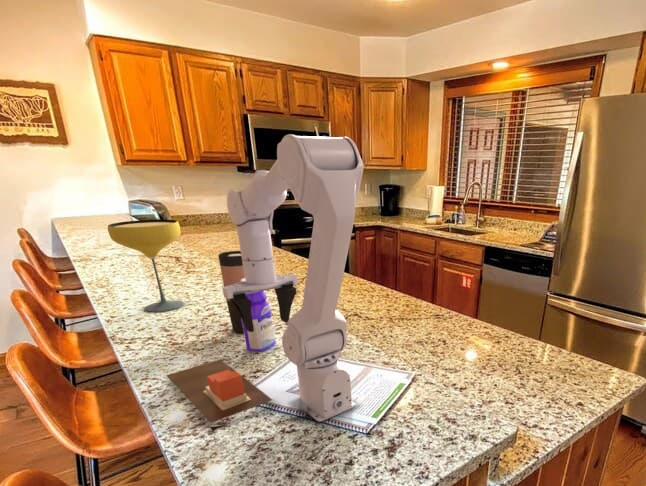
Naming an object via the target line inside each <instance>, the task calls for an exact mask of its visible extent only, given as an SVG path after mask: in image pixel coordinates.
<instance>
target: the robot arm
mask: <svg viewBox="0 0 646 486" xmlns="http://www.w3.org/2000/svg"><path fill="white" fill-rule="evenodd" d="M276 157H277V159H276V161H275V162H274V163H273V165H272V167H270V169H269V170H266V169H257V170H255V172H254V176H253V177H252V178H251V179H250V180H249V181H248V182H247V183H245V185H244V187H243V188H242V189H241V190H236V189H230V190H229V191H228V193H227V196H226V208H227V211H228V215H229V217H230V220H231V221H232V223H233V225H235V226H236V231H237V232H236V233H237V238H238V243H239V249H240V250H239V251H241V256H242V262H243V268H244V274H245V281H243V282H240V283H236V284H233V285H230V286H225V287H224V286H222V288H221V289H222V294H223V297H224V298H225V299H226V298H227V299H229V300H230V302H231V303H232V304H233V306H234V307H235V308H236V310H237V311H238V313H239V315H240V316H241V318H242V320H243V323H244V325H245V328H246V330H247V331H249V332H253V331H254V326H253V321H252V315H251V300H249V299H247V296H245V295H246V294H251V293H256V292H261V291H263V292H265V291H269V290H274V293H275V295H276V300H277V303H278V310H279V317H280V321H281V322H283V323H285V324H286V325H287V326H286V329H284V331H283V334H282V337H281V344H282V349H283V352H284V354H285V356H286V358H287V359H288V361H289V362H291V363H292V364H294V365H295V366H296V369H297V370H296V371H297V379H298V388H299V396H300V401H301V403H302V404H304V405H306V414H307V415H308V416H310V417H311V418H312V419H314V420H315V421H316V422H319V423H320V422H323V421H326V420H329V419H331V418H332V417H335V416H337V415H339V414H342V413H344V412H346V411H348V410H351V409H352V408H355V407H356V406H357V404H356V402H354V401H353V400H352V386H351V385H352V384H351V377H350V374H349V373H348V372H347V371H346V370H345V369H344V368H343V367H342V365H341V363H340V361H339V358H342V351H344V350H345V348H346V346H347V343H348V335H347V326H348V322H347V320H346V318H345V317H344V315H343V314H342V313H341V312H340V311H339V310H337V309H338V304H339V298H340V294H341V288H342V285H343V280H344V273H345V270H346V269H345V268H346V263H347V259H348V253H349V248H350V244H351V238H352V235H353V234H352V233H353V228H354V224H355V218H356V206H357V203H358V200H359V199H358V198H359V195H360V194H359V193H360V188H361V183H362V178H363V173H364V167H365V165H364V163H363V159H362V158H361V155H360V152H359V149H358V147H357V145H356V143H355V141H354V140H353V139H351V138H350V137H349V136H339V137H333V136H332V137H330V136H309V135H308V136H307V135H302V136H301V135H295V134H292V133H289V134H286V135H284V136H283V137H282V139H281V141H280V142H278V144H277V148H276ZM288 190H290V192H291V194H292V195H293V197H294V199H295V201H296V202H297V204H298V206H299V207H300V209H301V210H302V211H304V212H307V214H309V215H312V217H313V225H312V233H311V240H310V248H309V253H308V254H309V255H308V263H307V270H306V278H305V284H304V290H303V291H304V292H303V300H302V307H301V308H300V309H299V310H298V311H296V313H295V314H293V315H292V316H291V317H290V315H291V309H292V305H293V302H294V299H295V297H296V296H297V293H298V291H297V287H296V286H298V285H299V279H298V275H296V274H293V273H290V274H284V275H277V272H276V266H275V265H276V264H275V257H274V250H273V243H272V236H271V233H272V232H273V219H274V211H275V210H276V209H278V208H279V207H280V206H281V205H282V204H283V203H284V202H285V200H286V199H287V195H288V194H287V193H288Z"/></svg>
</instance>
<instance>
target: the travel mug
mask: <svg viewBox="0 0 646 486" xmlns="http://www.w3.org/2000/svg"><path fill="white" fill-rule="evenodd" d="M217 257H218V261H219V267H220V272H221V278H222V284H223V287H225V286H230V285H233V284H236V283H240V282H241V279H243V278H245V274H244V268H243V262H242V256H241V250H231V251H230V250H229V251H224V252H220V253H219V254H218V256H217ZM225 300H226V305H227V309H228V313H229V318H230V322H231V328H232V331H233V333H235V334H240V335H242V334H243V335H244V330H243V325H242V320H241V316H240V315H239V313H238V311H237V310H236V308H235V307H234V306H233V304H232V303H231V302H230V300H229V299H227V298H225Z"/></svg>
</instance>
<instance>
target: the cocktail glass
mask: <svg viewBox="0 0 646 486" xmlns="http://www.w3.org/2000/svg"><path fill="white" fill-rule="evenodd" d="M107 232H108V235H109V238H110V240H112V241H113V242H115V243H116V244H118V245H120V246H123V247H126V248H128V249H131V250H135V251H137V252H140V253H142V254H143V255H144V256H145V257H147V258H148V259H149V260H151V262H152V266H153V269H154V270H153V271H154V274H155V277H156V281H157V287H158V290H159V296H160V301H158V302H154V303H151V304H148V305H146V306H145V307H144V310H145V311H146V312H149V313H163V312H170V311H174V310H178V309H180V308H182V307H184V305H185V302H184V301H181V300H167V299H166V296H165V295H164V291H163V288H162V284H161V280H160V276H159V273H158V270H157V265H156V261H155V259H157V257H158V255H159V253H160V251H162V250H163V249H164V248H166V247H167V246H169V245H170V244H172V243H174V242H175V241H177V239H178V238H180V236H181V232H182V231H181V226H180V223H179V221H178V220H175V219H162V218H161V219H140V220H139V219H138V220H127V221H119V222H114V223H109V224H108V225H107Z"/></svg>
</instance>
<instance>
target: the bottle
mask: <svg viewBox="0 0 646 486" xmlns="http://www.w3.org/2000/svg"><path fill="white" fill-rule="evenodd" d="M243 281H245V278H243V279H241V282H243ZM245 296H247V299H249V300H251V315H252V321H253V326H254V331H253V332H249V331H247V330H246V328H245V325H244V323H243V320H242V318H241V320H242V325H243V330H244V334H243V336H244V341H245V347H246V350H247V351H248V352H253V353H261V352H266V351H268V350H271V349H272V348H273V347H274V346H276V343H277V340H276V335H275V330H274V329H275V328H274V323H273V317H272V315H273V314H272V309H271V305H270V304H269V303H268V301H267V299H268V296H267V294H266V293H265V291H261V292H256V293H251V294H246V295H245Z"/></svg>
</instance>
